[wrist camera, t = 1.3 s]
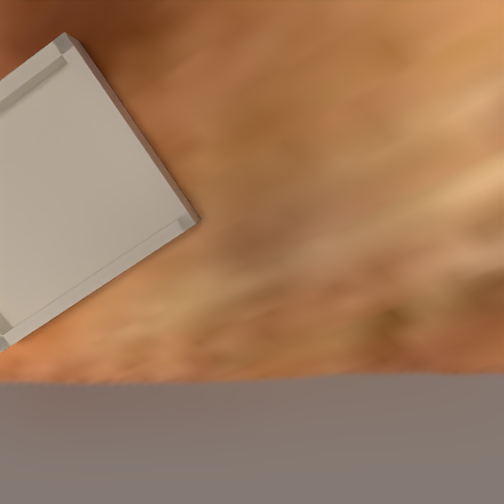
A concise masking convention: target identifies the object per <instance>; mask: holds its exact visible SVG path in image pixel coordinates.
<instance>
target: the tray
mask: <svg viewBox="0 0 504 504" xmlns="http://www.w3.org/2000/svg"><path fill="white" fill-rule="evenodd" d="M199 220H200V218H199V216H198V215H197V213H196V212H195V210H194V209H193V207H192V206H191V204H190V203H189V201H188V200H187V199H186V197H185V196H184V194H183V193H182V191H181V190H180V188H179V187H178V185H177V184H176V182H175V181H174V179H173V178H172V177H171V175H170V174H169V172H168V171H167V169H166V168H165V166H164V165H163V163H162V162H161V160H160V159H159V157H158V156H157V155H156V153H155V152H154V150H153V149H152V147H151V146H150V144H149V143H148V141H147V140H146V138H145V137H144V135H143V134H142V133H141V131H140V130H139V128H138V127H137V125H136V124H135V122H134V121H133V119H132V118H131V116H130V115H129V113H128V112H127V111H126V109H125V108H124V106H123V105H122V103H121V102H120V100H119V99H118V97H117V96H116V94H115V93H114V91H113V90H112V89H111V87H110V86H109V84H108V83H107V81H106V80H105V78H104V77H103V75H102V74H101V72H100V71H99V69H98V68H97V67H96V65H95V64H94V62H93V61H92V59H91V58H90V56H89V55H88V53H87V52H86V50H85V49H84V47H83V46H82V45H81V43H80V42H79V41H78V40H76V39H75V38H73V37H71V36H70V35H68V34H67V33H65V32H64V33H63V34H61V35H60V36H59V37H57V38H56V39H55V40H53V41H52V42H51V43H49V44H48V45H47V46H45V47H44V48H43V49H41V50H40V51H39V52H38V53H36V54H35V55H34V56H32V57H31V58H30V59H28V60H27V61H26V62H24V63H23V64H22V65H20V66H19V67H18V68H16V69H15V70H14V71H13V72H11V73H10V74H9V75H7V76H6V77H5V78H3V79H2V80H1V81H0V353H1V352H3V351H4V350H6V349H7V348H9V347H10V346H12V345H13V344H15V343H16V342H18V341H19V340H21V339H22V338H24V337H25V336H27V335H28V334H30V333H31V332H33V331H34V330H36V329H37V328H39V327H41V326H42V325H44V324H45V323H47V322H48V321H50V320H51V319H53V318H54V317H56V316H57V315H59V314H60V313H62V312H63V311H65V310H66V309H68V308H69V307H71V306H72V305H74V304H75V303H77V302H78V301H80V300H81V299H83V298H85V297H86V296H88V295H89V294H91V293H92V292H94V291H95V290H97V289H98V288H100V287H101V286H103V285H104V284H106V283H107V282H109V281H110V280H112V279H113V278H115V277H116V276H118V275H119V274H121V273H122V272H124V271H126V270H127V269H129V268H130V267H132V266H133V265H135V264H136V263H138V262H139V261H141V260H142V259H144V258H145V257H147V256H148V255H150V254H151V253H153V252H154V251H156V250H157V249H159V248H160V247H162V246H163V245H165V244H166V243H168V242H170V241H171V240H173V239H174V238H176V237H177V236H179V235H180V234H182V233H183V232H185V231H186V230H188V229H189V228H191V227H192V226H194V225H195V224H197V222H198V221H199Z"/></svg>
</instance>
